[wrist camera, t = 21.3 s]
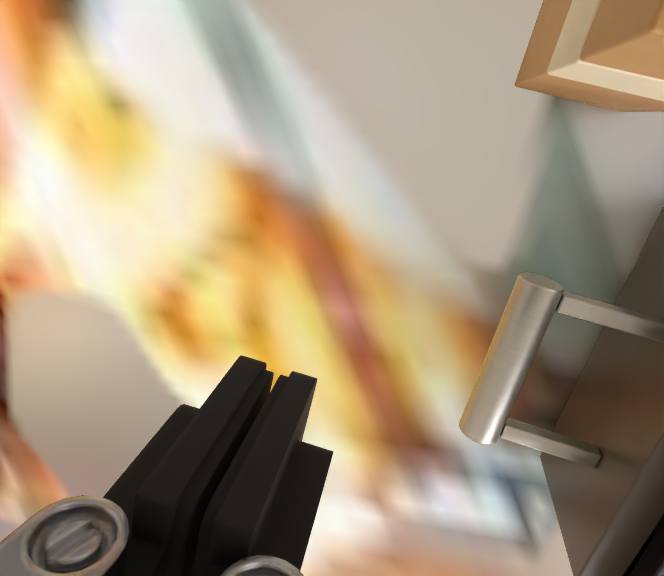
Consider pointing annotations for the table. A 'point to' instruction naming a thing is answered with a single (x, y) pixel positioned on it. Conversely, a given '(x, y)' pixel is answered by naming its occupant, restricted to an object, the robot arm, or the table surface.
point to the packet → (598, 53)
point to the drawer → (589, 411)
